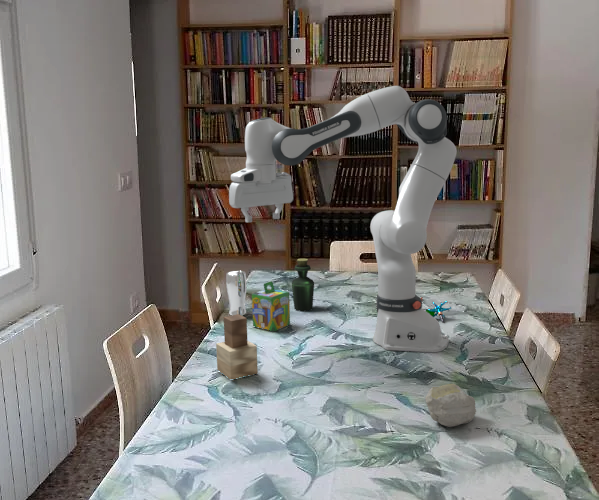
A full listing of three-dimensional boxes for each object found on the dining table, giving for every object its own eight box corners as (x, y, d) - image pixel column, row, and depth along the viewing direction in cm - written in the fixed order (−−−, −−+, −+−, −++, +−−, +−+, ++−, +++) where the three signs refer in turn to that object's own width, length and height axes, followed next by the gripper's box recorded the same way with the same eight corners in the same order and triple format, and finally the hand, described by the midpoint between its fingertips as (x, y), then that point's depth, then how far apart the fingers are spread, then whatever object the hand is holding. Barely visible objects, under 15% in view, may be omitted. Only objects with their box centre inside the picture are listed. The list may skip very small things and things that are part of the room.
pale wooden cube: (243, 365, 185) (242, 337, 184) (257, 374, 179) (256, 345, 177) (217, 371, 181) (216, 343, 180) (230, 381, 175) (229, 351, 173)
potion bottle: (312, 312, 234) (311, 262, 230) (289, 311, 235) (288, 261, 232) (316, 306, 241) (315, 257, 238) (294, 305, 243) (293, 257, 240)
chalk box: (273, 332, 213) (272, 287, 210) (251, 327, 219) (250, 283, 216) (291, 325, 220) (290, 281, 217) (269, 320, 226) (268, 278, 223)
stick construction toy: (450, 309, 226) (448, 295, 221) (456, 325, 221) (454, 312, 216) (416, 319, 227) (412, 305, 222) (421, 335, 223) (418, 322, 217)
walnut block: (239, 340, 181) (238, 314, 180) (247, 345, 178) (246, 318, 176) (224, 343, 179) (223, 317, 178) (232, 348, 175) (231, 321, 174)
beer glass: (246, 317, 230) (244, 275, 227) (226, 317, 230) (224, 275, 227) (248, 311, 237) (246, 270, 234) (228, 312, 237) (227, 270, 234)
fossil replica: (485, 419, 150) (445, 412, 156) (485, 383, 149) (444, 377, 155) (461, 436, 141) (419, 426, 147) (460, 397, 140) (418, 389, 146)
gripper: (285, 171, 205) (286, 215, 208) (225, 175, 194) (227, 222, 197) (296, 172, 200) (297, 218, 203) (235, 176, 189) (237, 225, 192)
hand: (262, 220), depth 200 cm, fingers open, 8 cm apart
